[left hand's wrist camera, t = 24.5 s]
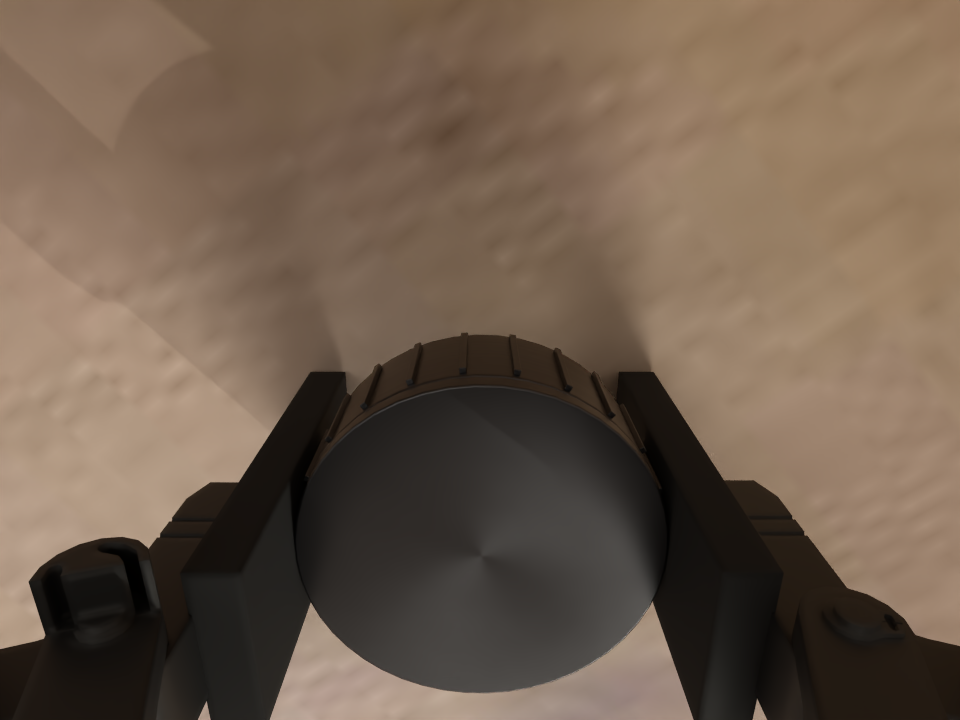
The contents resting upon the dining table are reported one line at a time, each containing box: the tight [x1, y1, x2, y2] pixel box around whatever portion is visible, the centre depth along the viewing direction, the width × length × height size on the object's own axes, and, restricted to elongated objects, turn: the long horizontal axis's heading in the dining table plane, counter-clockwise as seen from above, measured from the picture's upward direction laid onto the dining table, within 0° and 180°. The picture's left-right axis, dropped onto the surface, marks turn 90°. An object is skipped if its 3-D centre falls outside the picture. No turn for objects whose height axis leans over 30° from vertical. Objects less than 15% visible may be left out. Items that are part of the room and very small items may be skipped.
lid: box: [294, 333, 669, 693], centre depth 11 cm, size 6×6×2 cm
